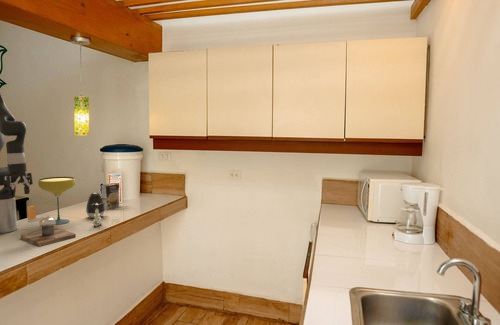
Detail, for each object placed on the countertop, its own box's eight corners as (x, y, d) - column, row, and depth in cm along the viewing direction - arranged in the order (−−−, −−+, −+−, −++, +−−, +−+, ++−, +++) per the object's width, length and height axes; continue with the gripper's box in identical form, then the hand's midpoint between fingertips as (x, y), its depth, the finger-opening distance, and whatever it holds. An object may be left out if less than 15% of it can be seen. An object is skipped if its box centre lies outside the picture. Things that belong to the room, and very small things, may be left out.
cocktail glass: (51, 217, 208) (49, 176, 205) (82, 218, 208) (80, 176, 206) (33, 226, 190) (30, 181, 187) (66, 227, 190) (64, 181, 188)
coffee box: (107, 210, 229) (106, 185, 227) (101, 208, 232) (100, 184, 231) (119, 207, 236) (118, 184, 234) (114, 206, 240) (113, 183, 238)
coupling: (25, 227, 166) (24, 205, 165) (51, 222, 176) (50, 201, 175) (32, 230, 163) (31, 208, 162) (58, 224, 172) (57, 203, 171)
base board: (20, 238, 171) (19, 226, 170) (55, 230, 185) (55, 218, 184) (39, 246, 160) (38, 233, 159) (75, 236, 174) (75, 225, 173)
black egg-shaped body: (89, 220, 204) (88, 194, 203) (84, 216, 212) (83, 192, 210) (107, 217, 211) (106, 192, 209) (101, 214, 219) (100, 190, 217)
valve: (90, 226, 191) (89, 205, 190) (92, 223, 197) (91, 202, 196) (103, 226, 193) (102, 204, 192) (104, 222, 199) (103, 202, 198)
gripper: (22, 161, 176) (25, 193, 178) (-4, 164, 162) (0, 198, 164) (35, 161, 175) (37, 193, 176) (10, 163, 161) (13, 198, 162)
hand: (19, 195), depth 170 cm, fingers open, 8 cm apart
